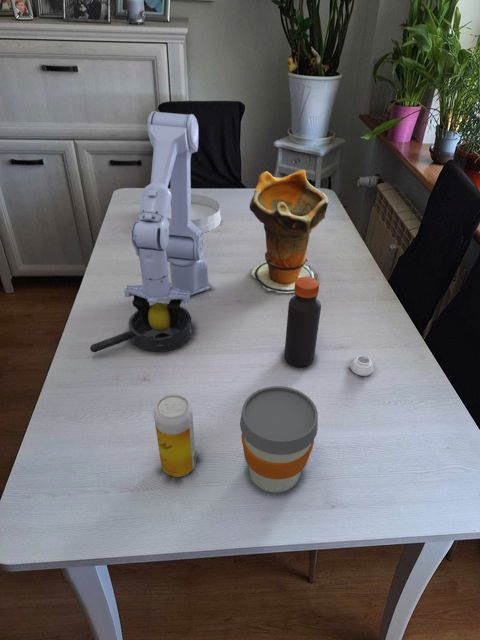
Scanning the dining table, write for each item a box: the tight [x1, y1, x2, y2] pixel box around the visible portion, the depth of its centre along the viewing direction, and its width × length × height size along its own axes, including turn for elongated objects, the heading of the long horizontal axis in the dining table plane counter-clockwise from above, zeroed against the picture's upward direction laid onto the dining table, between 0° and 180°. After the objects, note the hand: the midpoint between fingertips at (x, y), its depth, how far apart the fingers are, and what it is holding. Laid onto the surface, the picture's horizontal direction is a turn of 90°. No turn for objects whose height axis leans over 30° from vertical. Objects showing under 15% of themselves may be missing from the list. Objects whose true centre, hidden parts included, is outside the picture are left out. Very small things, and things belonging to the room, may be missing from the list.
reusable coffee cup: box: [239, 385, 319, 493], centre depth 81 cm, size 13×13×15 cm
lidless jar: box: [349, 354, 375, 377], centre depth 108 cm, size 5×3×5 cm
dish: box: [168, 193, 221, 234], centre depth 164 cm, size 22×22×5 cm
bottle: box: [283, 277, 322, 368], centre depth 104 cm, size 7×7×20 cm
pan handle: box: [89, 330, 134, 353], centre depth 108 cm, size 10×2×2 cm, turn 128°
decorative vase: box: [249, 169, 330, 294], centre depth 129 cm, size 21×23×28 cm
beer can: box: [153, 393, 197, 478], centre depth 82 cm, size 6×6×15 cm
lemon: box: [148, 302, 171, 332], centre depth 113 cm, size 6×6×8 cm
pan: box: [128, 302, 193, 352], centre depth 115 cm, size 14×14×4 cm
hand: (160, 323), depth 114 cm, fingers closed on lemon, 5 cm apart
